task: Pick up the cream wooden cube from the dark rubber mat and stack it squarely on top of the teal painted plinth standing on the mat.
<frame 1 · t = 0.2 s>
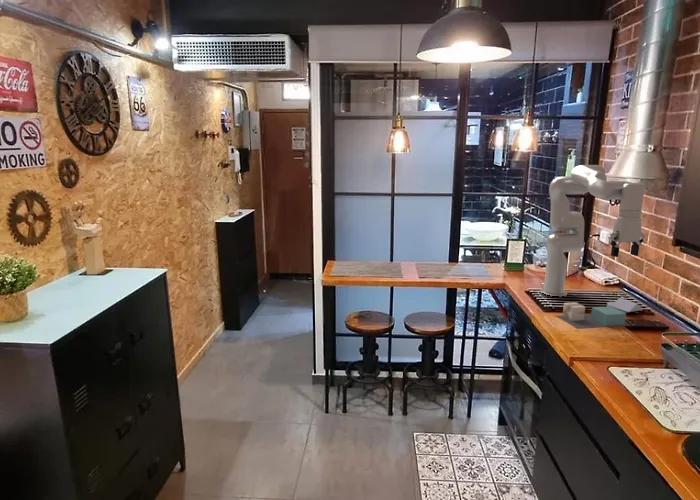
hand: (624, 255, 187), 31 cm above the kitchen counter, tool pointing down, fingers open, 9 cm apart
mat: (591, 322, 197), on the kitchen counter
plinth: (607, 321, 195), resting on mat
cream cube: (572, 317, 199), point 1 cm above the kitchen counter, touching mat
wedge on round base: (621, 313, 209), on the kitchen counter
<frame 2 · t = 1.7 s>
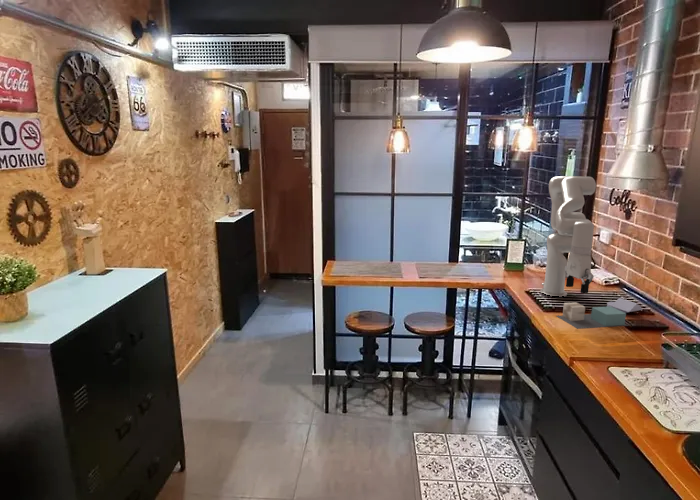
hand: (576, 289, 196), 14 cm above the kitchen counter, tool pointing down, fingers open, 9 cm apart
nothing on the kitchen counter moved.
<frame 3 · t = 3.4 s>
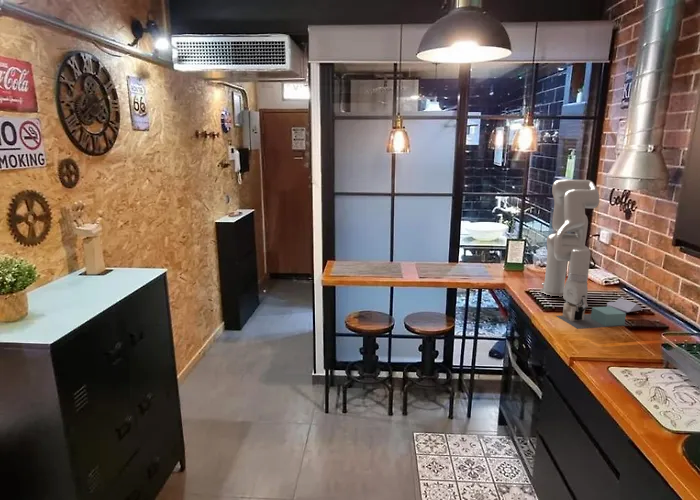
hand: (573, 316, 199), 2 cm above the kitchen counter, tool pointing down, fingers closed on cream cube, 6 cm apart
cream cube: (572, 317, 199), point 1 cm above the kitchen counter, touching gripper, mat
everything else where it was.
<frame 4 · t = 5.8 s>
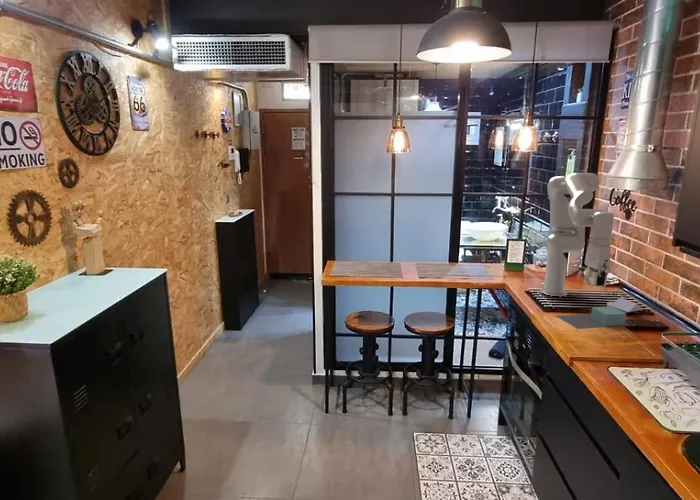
hand: (595, 282, 194), 18 cm above the kitchen counter, tool pointing down, fingers closed on cream cube, 6 cm apart
cream cube: (594, 284, 194), point 17 cm above the kitchen counter, touching gripper
everything else where it was.
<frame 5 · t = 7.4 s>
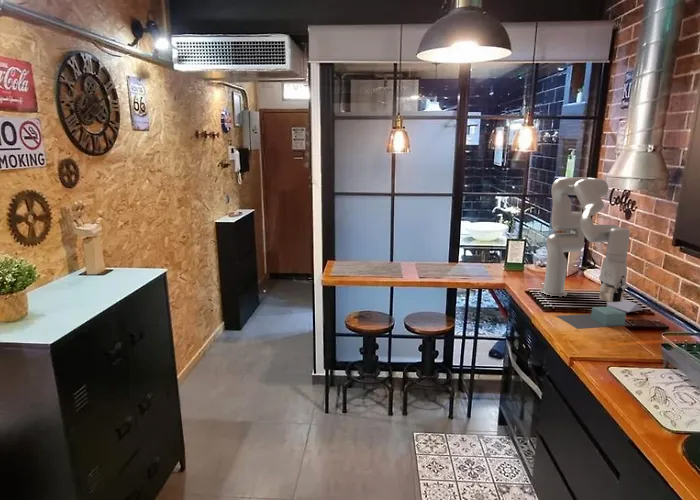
hand: (610, 298, 193), 11 cm above the kitchen counter, tool pointing down, fingers closed on cream cube, 6 cm apart
cream cube: (610, 300, 193), point 11 cm above the kitchen counter, touching gripper
everything else where it was.
when the fingers open (8 cm above the kitchen counter, at t = 8.5 s): cream cube drops 1 cm, resting on plinth.
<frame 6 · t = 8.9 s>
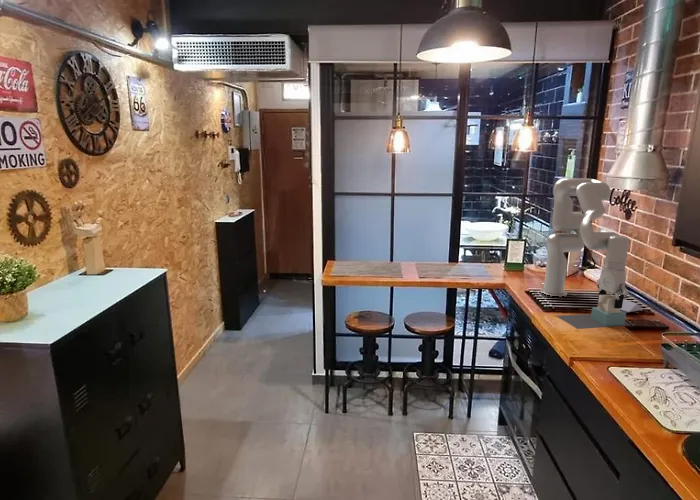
hand: (609, 304, 194), 9 cm above the kitchen counter, tool pointing down, fingers open, 9 cm apart
cream cube: (608, 310, 194), point 6 cm above the kitchen counter, touching plinth
everything else where it was.
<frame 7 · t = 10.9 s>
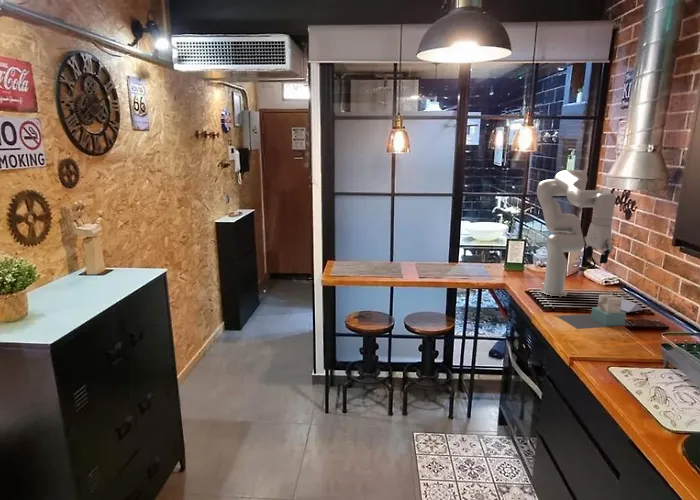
hand: (595, 259, 202), 25 cm above the kitchen counter, tool pointing down, fingers open, 9 cm apart
nothing on the kitchen counter moved.
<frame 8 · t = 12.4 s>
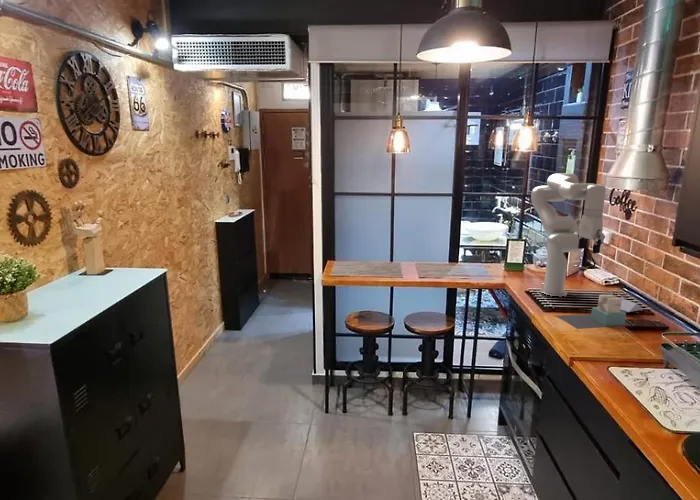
hand: (588, 250, 206), 28 cm above the kitchen counter, tool pointing down, fingers open, 9 cm apart
nothing on the kitchen counter moved.
at the end: cream cube 0.1 cm off-centre on the plinth, point 5.0 cm above the plinth's base; cream cube tilted 0°; the gripper is holding nothing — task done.
